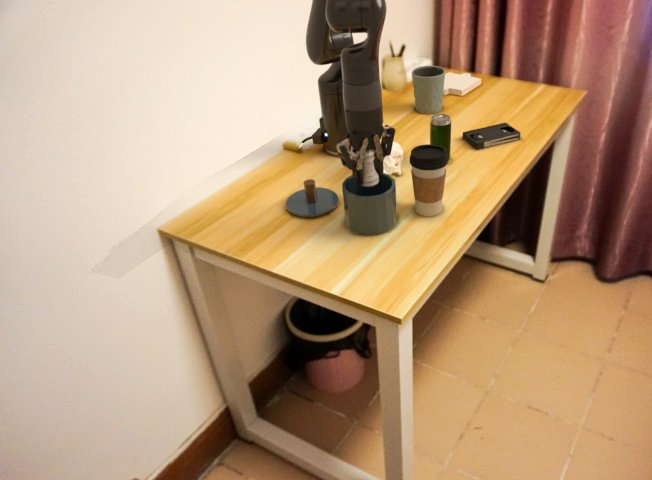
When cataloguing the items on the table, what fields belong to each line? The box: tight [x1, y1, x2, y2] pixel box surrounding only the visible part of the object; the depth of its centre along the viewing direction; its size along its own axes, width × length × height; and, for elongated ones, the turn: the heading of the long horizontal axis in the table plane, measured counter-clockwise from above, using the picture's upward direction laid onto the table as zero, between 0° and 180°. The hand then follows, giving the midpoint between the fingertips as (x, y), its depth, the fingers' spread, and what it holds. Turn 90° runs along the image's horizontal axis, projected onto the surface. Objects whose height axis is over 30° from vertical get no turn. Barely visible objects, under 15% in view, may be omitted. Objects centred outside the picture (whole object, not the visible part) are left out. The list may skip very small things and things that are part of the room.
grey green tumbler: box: [411, 65, 446, 115], centre depth 168 cm, size 10×10×12 cm
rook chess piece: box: [361, 150, 379, 187], centre depth 113 cm, size 4×4×8 cm
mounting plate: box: [443, 71, 482, 97], centre depth 186 cm, size 18×13×2 cm
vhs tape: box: [462, 122, 521, 150], centre depth 152 cm, size 14×8×2 cm, turn 114°
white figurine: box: [383, 140, 405, 176], centre depth 134 cm, size 6×8×12 cm
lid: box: [285, 178, 339, 218], centre depth 126 cm, size 12×12×6 cm
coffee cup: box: [409, 143, 449, 217], centre depth 120 cm, size 8×8×15 cm
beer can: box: [429, 113, 452, 163], centre depth 140 cm, size 5×5×12 cm
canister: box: [341, 173, 398, 236], centre depth 119 cm, size 11×11×10 cm
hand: (368, 179), depth 115 cm, fingers closed on rook chess piece, 4 cm apart
